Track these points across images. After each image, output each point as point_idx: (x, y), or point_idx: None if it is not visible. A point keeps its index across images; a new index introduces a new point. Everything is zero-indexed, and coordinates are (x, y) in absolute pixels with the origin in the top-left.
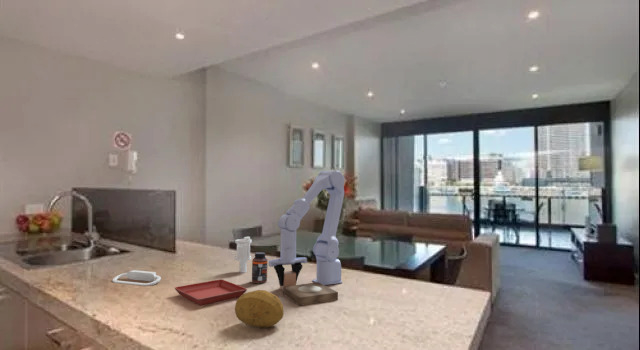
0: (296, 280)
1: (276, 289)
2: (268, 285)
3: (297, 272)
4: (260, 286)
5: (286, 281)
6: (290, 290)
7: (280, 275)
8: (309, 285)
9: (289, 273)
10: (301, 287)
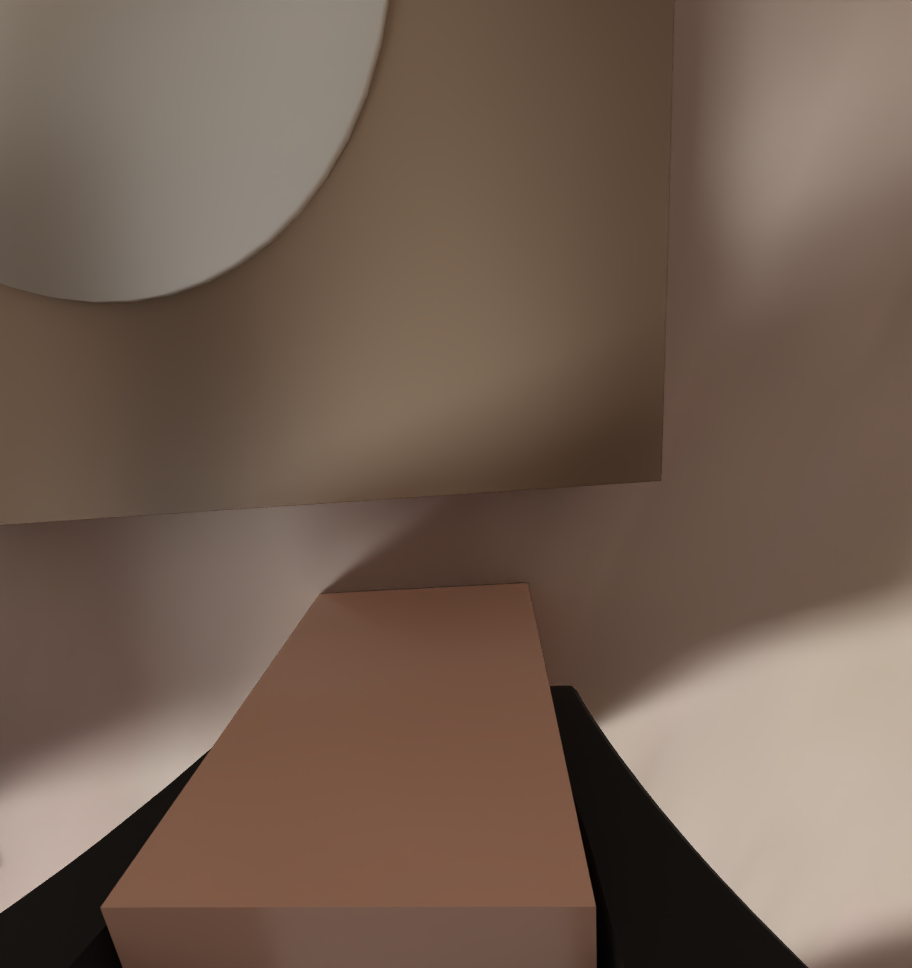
0: None
1: (607, 718)
2: None
3: (28, 948)
4: (764, 921)
5: (497, 698)
6: (630, 13)
7: (740, 906)
8: (4, 347)
9: (358, 957)
10: (244, 160)
